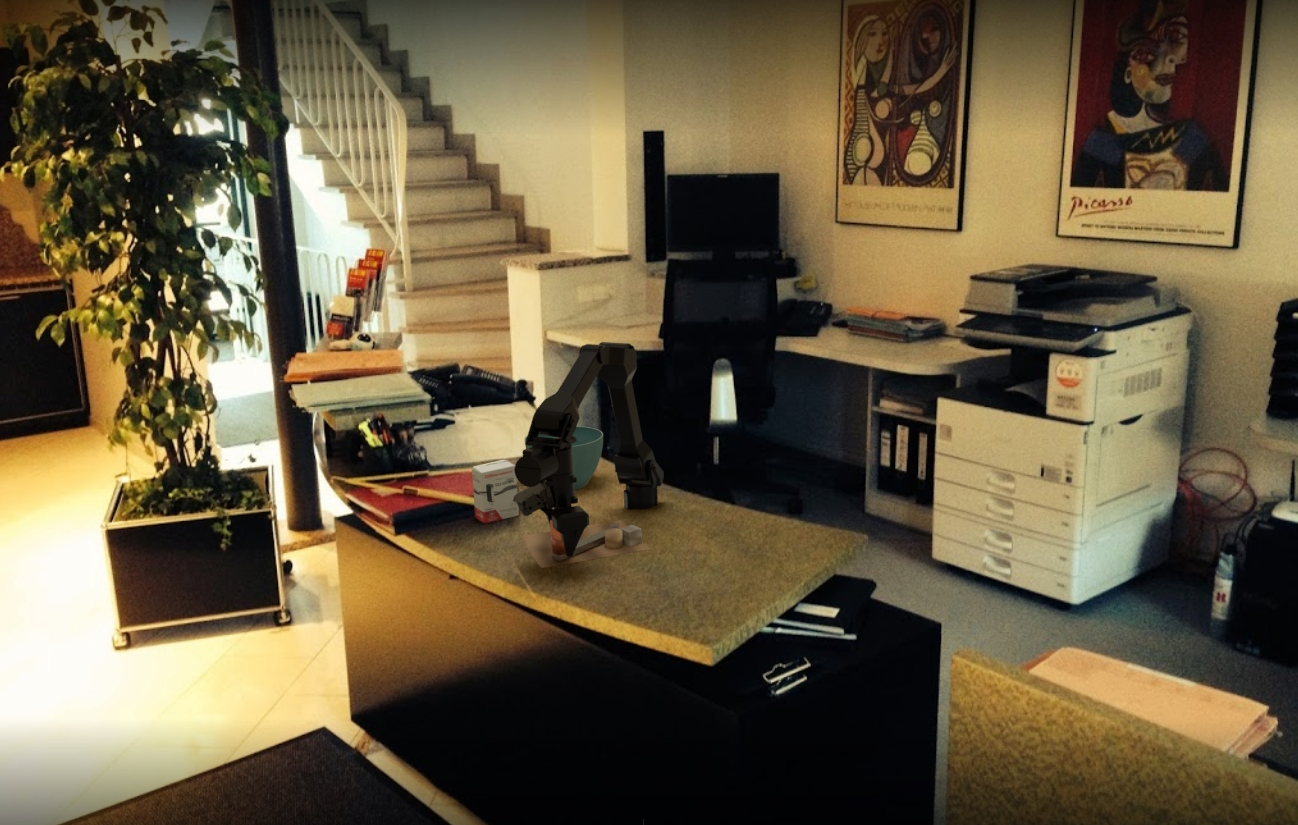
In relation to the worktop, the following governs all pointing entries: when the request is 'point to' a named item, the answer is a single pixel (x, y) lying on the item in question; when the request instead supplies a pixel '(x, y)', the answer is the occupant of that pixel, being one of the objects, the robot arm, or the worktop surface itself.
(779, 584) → the worktop surface
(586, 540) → the lever
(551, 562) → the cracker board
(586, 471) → the teal bowl
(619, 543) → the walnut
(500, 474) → the ink box
